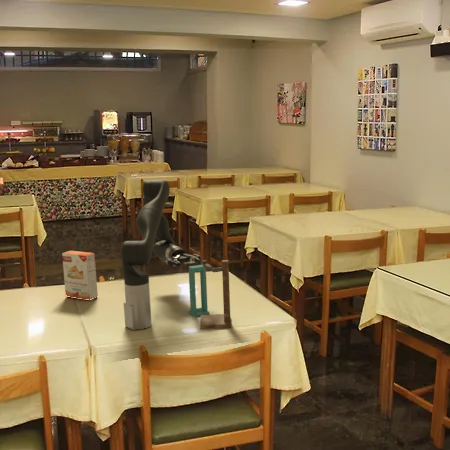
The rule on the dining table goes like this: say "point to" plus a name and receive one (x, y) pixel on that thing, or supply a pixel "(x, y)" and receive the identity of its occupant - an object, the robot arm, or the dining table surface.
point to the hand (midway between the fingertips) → (189, 263)
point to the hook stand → (223, 319)
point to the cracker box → (80, 274)
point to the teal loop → (193, 309)
